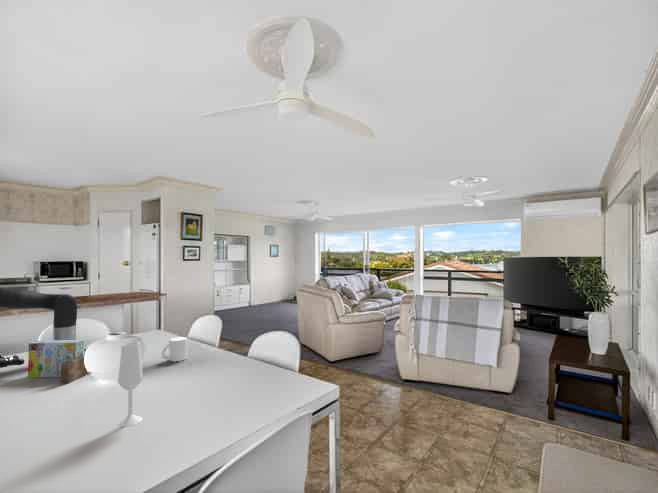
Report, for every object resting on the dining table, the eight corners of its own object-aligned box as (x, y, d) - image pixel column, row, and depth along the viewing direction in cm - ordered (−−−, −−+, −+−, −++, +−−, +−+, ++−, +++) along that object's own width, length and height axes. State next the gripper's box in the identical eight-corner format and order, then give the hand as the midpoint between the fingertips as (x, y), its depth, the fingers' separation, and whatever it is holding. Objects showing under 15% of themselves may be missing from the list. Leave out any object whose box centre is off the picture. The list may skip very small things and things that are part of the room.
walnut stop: (87, 371, 155) (87, 347, 155) (94, 371, 155) (94, 347, 155) (60, 383, 140) (61, 356, 140) (68, 383, 140) (68, 356, 140)
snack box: (84, 373, 153) (84, 339, 153) (74, 377, 147) (74, 342, 148) (38, 373, 154) (38, 339, 154) (26, 377, 148) (27, 342, 148)
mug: (189, 338, 173) (165, 343, 164) (189, 359, 172) (165, 364, 164) (182, 336, 178) (158, 340, 170) (182, 356, 178) (158, 361, 169)
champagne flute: (137, 414, 111) (137, 340, 112) (146, 420, 107) (146, 343, 108) (114, 422, 106) (114, 344, 107) (122, 428, 102) (123, 347, 103)
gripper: (-33, 358, 143) (8, 357, 143) (-2, 349, 156) (36, 349, 156) (-33, 376, 143) (8, 375, 143) (-2, 366, 156) (35, 365, 156)
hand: (22, 362), depth 149 cm, fingers closed
